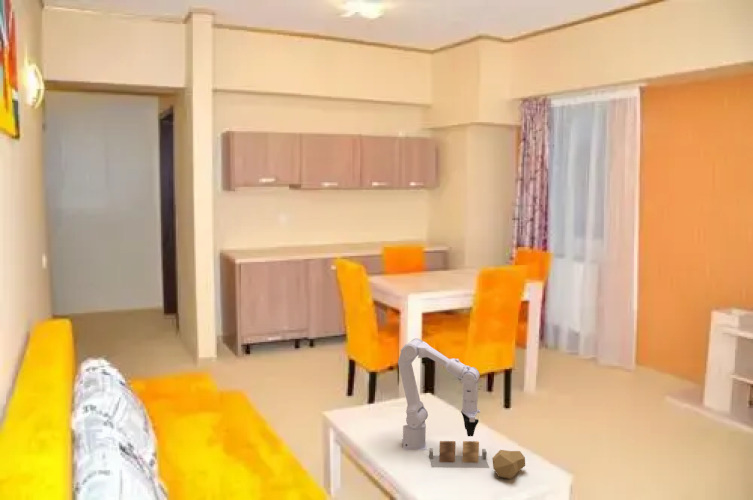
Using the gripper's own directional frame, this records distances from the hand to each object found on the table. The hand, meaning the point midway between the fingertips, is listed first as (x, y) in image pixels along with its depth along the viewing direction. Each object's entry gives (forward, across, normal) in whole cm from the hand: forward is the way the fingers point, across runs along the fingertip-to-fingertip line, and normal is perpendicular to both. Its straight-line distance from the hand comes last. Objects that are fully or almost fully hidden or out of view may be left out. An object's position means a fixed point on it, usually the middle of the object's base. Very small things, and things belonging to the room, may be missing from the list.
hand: (469, 432), depth 255 cm
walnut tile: (+9, -6, +9) cm, 14 cm away
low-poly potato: (+10, -16, -13) cm, 23 cm away
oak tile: (+9, -6, 0) cm, 11 cm away
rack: (+10, -6, +4) cm, 12 cm away
